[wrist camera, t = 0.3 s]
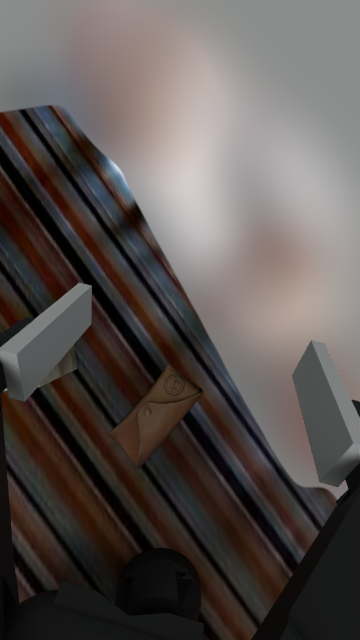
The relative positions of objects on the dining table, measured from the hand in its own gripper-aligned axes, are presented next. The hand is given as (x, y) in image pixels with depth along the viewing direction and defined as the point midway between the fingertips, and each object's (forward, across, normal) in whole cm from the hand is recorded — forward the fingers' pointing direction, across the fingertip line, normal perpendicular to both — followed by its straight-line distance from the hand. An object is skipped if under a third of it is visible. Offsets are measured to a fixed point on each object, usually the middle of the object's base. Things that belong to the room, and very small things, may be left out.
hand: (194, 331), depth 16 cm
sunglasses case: (+20, +3, +34) cm, 39 cm away
